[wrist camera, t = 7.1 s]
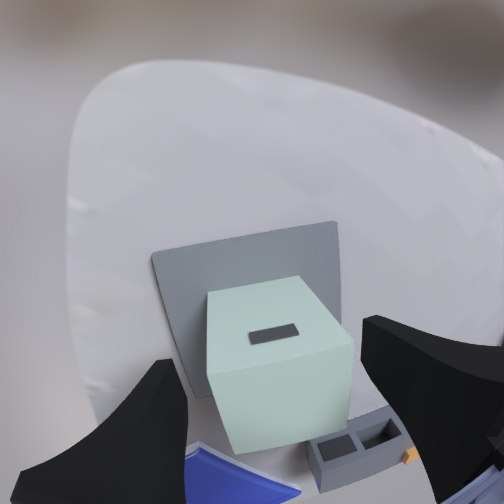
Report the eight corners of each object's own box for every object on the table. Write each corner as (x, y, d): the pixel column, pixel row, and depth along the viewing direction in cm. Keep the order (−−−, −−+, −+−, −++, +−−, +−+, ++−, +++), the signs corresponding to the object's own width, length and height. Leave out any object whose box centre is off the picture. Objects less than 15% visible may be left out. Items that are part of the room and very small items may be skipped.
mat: (333, 221, 12) (337, 222, 12) (337, 363, 15) (340, 367, 14) (153, 252, 12) (150, 255, 11) (195, 392, 14) (195, 397, 13)
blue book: (127, 480, 15) (233, 519, 18) (198, 452, 14) (302, 494, 18) (130, 465, 16) (232, 508, 20) (198, 434, 16) (298, 481, 19)
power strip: (417, 391, 17) (445, 424, 13) (406, 422, 18) (429, 453, 14) (306, 432, 16) (324, 478, 12) (307, 460, 17) (322, 499, 13)
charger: (298, 273, 12) (354, 339, 7) (305, 375, 14) (342, 452, 9) (207, 290, 12) (206, 372, 7) (231, 390, 14) (243, 476, 8)
